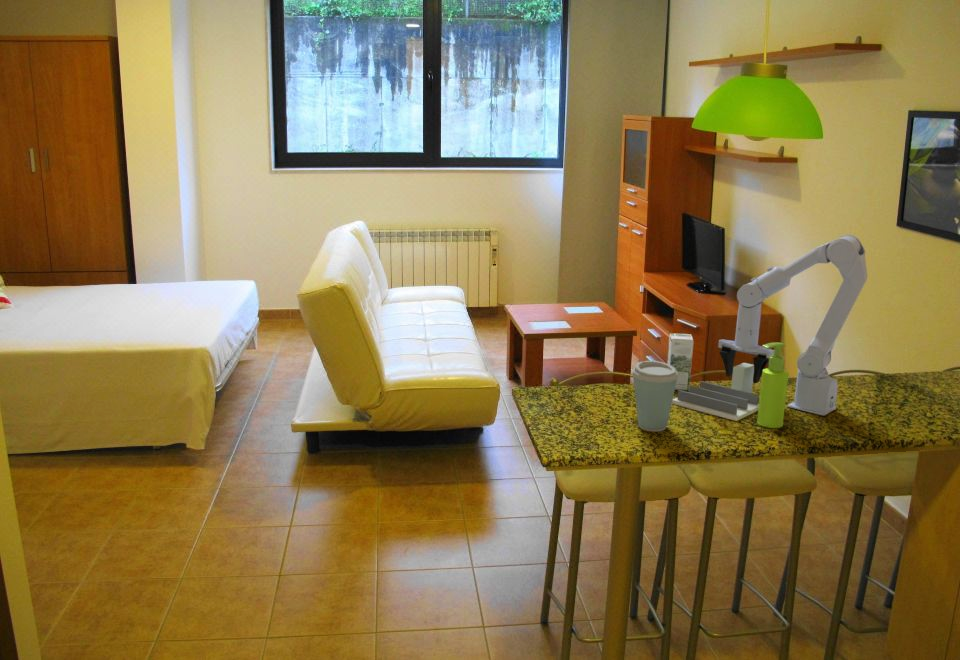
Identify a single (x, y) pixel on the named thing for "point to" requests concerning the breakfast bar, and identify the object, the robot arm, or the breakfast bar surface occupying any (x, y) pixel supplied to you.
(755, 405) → the dish rack
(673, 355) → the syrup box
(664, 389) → the disposable coffee cup
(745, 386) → the white rectangular block
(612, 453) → the breakfast bar surface
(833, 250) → the robot arm
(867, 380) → the breakfast bar surface
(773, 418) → the soap dispenser
